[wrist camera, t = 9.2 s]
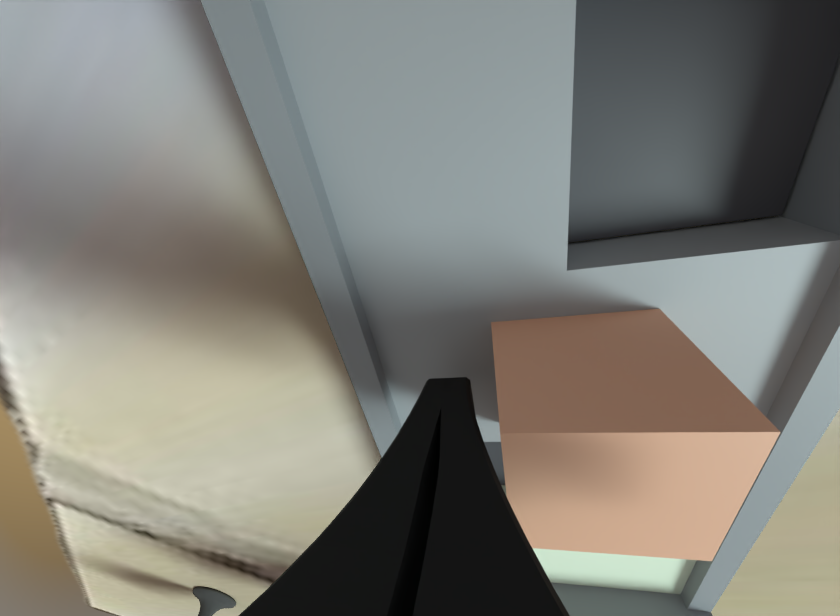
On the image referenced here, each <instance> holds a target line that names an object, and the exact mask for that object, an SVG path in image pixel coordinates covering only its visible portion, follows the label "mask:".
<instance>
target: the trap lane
mask: <svg viewBox="0 0 840 616" xmlns="http://www.w3.org/2000/svg"><path fill="white" fill-rule="evenodd" d="M201 3H202V5H203V8H204V10H205V13H206V16H207V18H208V21H209V23H210V26H211V28H212V31H213V33H214V36H215V38H216V41H217V43H218V46H219V48H220V51H221V53H222V56H223V58H224V61H225V64H226V66H227V69H228V71H229V74H230V76H231V79H232V81H233V84H234V86H235V89H236V91H237V94H238V96H239V99H240V101H241V104H242V106H243V109H244V111H245V114H246V117H247V119H248V122H249V124H250V127H251V129H252V132H253V134H254V137H255V139H256V142H257V144H258V147H259V149H260V152H261V154H262V157H263V159H264V162H265V164H266V167H267V170H268V172H269V175H270V177H271V180H272V182H273V185H274V187H275V190H276V192H277V195H278V197H279V200H280V202H281V205H282V207H283V210H284V212H285V215H286V217H287V220H288V223H289V225H290V228H291V230H292V233H293V235H294V238H295V240H296V243H297V245H298V248H299V250H300V253H301V255H302V258H303V260H304V263H305V265H306V268H307V271H308V273H309V276H310V278H311V281H312V283H313V286H314V288H315V291H316V293H317V296H318V298H319V301H320V303H321V306H322V308H323V311H324V313H325V316H326V318H327V321H328V324H329V326H330V329H331V331H332V334H333V336H334V339H335V341H336V344H337V346H338V349H339V351H340V354H341V356H342V359H343V361H344V364H345V366H346V369H347V371H348V374H349V377H350V379H351V382H352V384H353V387H354V389H355V392H356V394H357V397H358V399H359V402H360V404H361V407H362V409H363V412H364V414H365V417H366V419H367V422H368V425H369V427H370V430H371V432H372V435H373V437H374V440H375V442H376V445H377V447H378V450H379V452H380V455H381V457H383V455H384V454H385V452H386V451H387V449H388V448H389V446H390V445H391V443H392V442H393V440H394V439H395V437H396V436H397V434H398V432H399V431H400V429H401V427H402V426H403V424H404V422H405V421H406V419H407V417H408V416H409V414H410V412H411V410H412V408H413V407H414V405H415V403H416V401H417V399H418V397H419V395H420V393H421V391H422V389H423V387H424V385H425V383H426V381H427V380H428V379H432V378H455V377H467V378H468V379H470V382H471V389H472V395H473V402H474V408H475V415H476V419H477V423H478V426H479V429H480V432H481V435H482V438H483V441H484V444H485V446H486V449H487V452H488V454H489V457H490V459H491V462H492V464H493V467H494V469H495V472H496V474H497V476H498V479H499V481H500V483H501V486H502V488H503V490H504V492H505V494H506V485H505V476H504V466H503V456H502V447H501V437H500V426H499V414H498V402H497V390H496V378H495V366H494V353H493V341H492V329H491V322H499V321H512V320H524V319H537V318H549V317H561V316H574V315H586V314H598V313H611V312H623V311H635V310H648V309H660V310H661V311H662V312H663V313H664V314H665V315H666V316H667V317H668V318H669V319H670V320H671V321H672V322H673V323H674V324H675V325H676V326H677V327H678V328H679V329H680V330H681V331H682V332H683V333H684V334H685V335H686V336H687V337H688V338H689V339H690V340H691V341H692V342H693V343H694V344H695V345H696V346H697V347H698V348H699V349H700V350H701V351H702V352H703V353H704V354H705V355H706V356H707V357H708V358H709V359H710V360H711V362H712V363H713V364H714V365H715V366H716V367H717V368H718V369H719V370H720V371H721V372H722V373H723V374H724V375H725V376H726V377H727V378H728V379H729V380H730V381H731V382H732V383H733V384H734V385H735V386H736V387H737V388H738V389H739V390H740V391H741V392H742V393H743V394H744V395H745V396H746V397H747V398H748V399H749V400H750V401H751V402H752V403H753V404H754V405H755V406H756V407H757V408H758V409H759V410H760V411H761V412H762V413H763V414H764V415H765V416H766V418H767V419H768V420H769V421H770V422H771V423H772V424H773V425H774V426H775V427H776V428H777V429H778V430H779V431H780V434H779V436H778V438H777V440H776V442H775V444H774V446H773V447H772V449H771V451H770V453H769V455H768V457H767V459H766V461H765V463H764V464H763V466H762V468H761V470H760V472H759V474H758V476H757V478H756V479H755V481H754V483H753V485H752V487H751V489H750V491H749V493H748V494H747V496H746V498H745V500H744V502H743V504H742V506H741V508H740V510H739V511H738V513H737V515H736V517H735V519H734V521H733V523H732V525H731V526H730V528H729V530H728V532H727V534H726V536H725V538H724V540H723V541H722V543H721V545H720V547H719V549H718V551H717V553H716V555H715V557H714V558H713V560H712V561H702V560H688V559H674V558H661V557H647V556H633V555H620V554H606V553H592V552H579V551H565V550H551V549H538V548H532V549H533V550H534V552H535V554H536V556H537V558H538V560H539V561H540V563H541V565H542V567H543V569H544V571H545V573H546V574H547V576H548V578H549V580H550V582H551V584H552V586H553V587H554V589H555V591H556V593H557V594H558V596H559V598H560V600H561V601H562V603H563V605H564V606H565V608H566V610H567V612H568V613H569V615H570V616H712V614H711V611H712V609H713V608H714V606H715V605H716V603H717V601H718V600H719V598H720V597H721V595H722V594H723V592H724V590H725V589H726V587H727V586H728V584H729V582H730V581H731V579H732V578H733V576H734V575H735V573H736V571H737V570H738V568H739V567H740V565H741V563H742V562H743V560H744V559H745V557H746V556H747V554H748V552H749V551H750V549H751V548H752V546H753V544H754V543H755V541H756V540H757V538H758V537H759V535H760V533H761V532H762V530H763V529H764V527H765V526H766V524H767V522H768V521H769V519H770V518H771V516H772V514H773V513H774V511H775V510H776V508H777V507H778V505H779V503H780V502H781V500H782V499H783V497H784V495H785V494H786V492H787V491H788V489H789V488H790V486H791V484H792V483H793V481H794V480H795V478H796V477H797V475H798V473H799V472H800V470H801V469H802V467H803V465H804V464H805V462H806V461H807V459H808V458H809V456H810V454H811V453H812V451H813V450H814V448H815V446H816V445H817V443H818V442H819V440H820V439H821V437H822V435H823V434H824V432H825V431H826V429H827V427H828V426H829V424H830V423H831V421H832V420H833V418H834V416H835V415H836V413H837V412H838V410H839V409H840V0H201ZM777 215H779V216H777ZM769 216H775V217H769ZM762 217H768V218H762ZM754 218H760V219H754ZM746 219H752V220H746ZM738 220H745V221H738ZM731 221H737V222H731ZM723 222H729V223H723ZM715 223H721V224H715ZM708 224H714V225H708ZM700 225H706V226H700ZM692 226H698V227H692ZM684 227H690V228H684ZM677 228H683V229H677ZM669 229H675V230H669ZM661 230H667V231H661ZM654 231H659V232H654ZM646 232H652V233H646ZM638 233H644V234H638ZM630 234H636V235H630ZM623 235H628V236H623ZM615 236H621V237H615ZM607 237H613V238H607ZM600 238H605V239H600ZM592 239H597V240H592ZM584 240H590V241H584ZM576 241H582V242H576ZM569 242H574V243H569ZM506 497H507V495H506Z"/></svg>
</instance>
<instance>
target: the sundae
mask: <svg viewBox="0 0 840 616" xmlns="http://www.w3.org/2000/svg"><path fill="white" fill-rule="evenodd" d="M193 594H194V595H195V596H196V597H197V598H198V599H199V601H200V612H199V614H198V616H212V615H213V614H214V613H215V612H216V611H218V610H220V609H223V608H233V607H234V606H235V605H236V602H235V600H234V599H233V598H231V597H230V596H228V595H226V594H224V593H222V592H220V591H217V590H214V589H210V588H206V587H196V588H194V589H193Z"/></svg>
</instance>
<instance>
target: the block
mask: <svg viewBox="0 0 840 616" xmlns="http://www.w3.org/2000/svg"><path fill="white" fill-rule="evenodd" d="M491 329H492V341H493V353H494V366H495V378H496V390H497V402H498V414H499V426H500V437H501V447H502V456H503V466H504V476H505V485H506V495H507V499H508V501H509V503H510V505H511V507H512V509H513V511H514V513H515V515H516V517H517V519H518V521H519V523H520V526H521V528H522V530H523V532H524V534H525V535H526V537H527V539H528V541H529V543H530V545H531V547H532V548H538V549H551V550H565V551H579V552H592V553H606V554H620V555H633V556H647V557H661V558H674V559H688V560H702V561H712V560H713V558H714V557H715V555H716V553H717V551H718V549H719V547H720V545H721V543H722V541H723V540H724V538H725V536H726V534H727V532H728V530H729V528H730V526H731V525H732V523H733V521H734V519H735V517H736V515H737V513H738V511H739V510H740V508H741V506H742V504H743V502H744V500H745V498H746V496H747V494H748V493H749V491H750V489H751V487H752V485H753V483H754V481H755V479H756V478H757V476H758V474H759V472H760V470H761V468H762V466H763V464H764V463H765V461H766V459H767V457H768V455H769V453H770V451H771V449H772V447H773V446H774V444H775V442H776V440H777V438H778V436H779V434H780V431H779V430H778V429H777V428H776V427H775V426H774V425H773V424H772V423H771V422H770V421H769V420H768V419H767V418H766V416H765V415H764V414H763V413H762V412H761V411H760V410H759V409H758V408H757V407H756V406H755V405H754V404H753V403H752V402H751V401H750V400H749V399H748V398H747V397H746V396H745V395H744V394H743V393H742V392H741V391H740V390H739V389H738V388H737V387H736V386H735V385H734V384H733V383H732V382H731V381H730V380H729V379H728V378H727V377H726V376H725V375H724V374H723V373H722V372H721V371H720V370H719V369H718V368H717V367H716V366H715V365H714V364H713V363H712V362H711V360H710V359H709V358H708V357H707V356H706V355H705V354H704V353H703V352H702V351H701V350H700V349H699V348H698V347H697V346H696V345H695V344H694V343H693V342H692V341H691V340H690V339H689V338H688V337H687V336H686V335H685V334H684V333H683V332H682V331H681V330H680V329H679V328H678V327H677V326H676V325H675V324H674V323H673V322H672V321H671V320H670V319H669V318H668V317H667V316H666V315H665V314H664V313H663V312H662V311H661V310H660V309H648V310H635V311H623V312H611V313H598V314H586V315H574V316H561V317H549V318H537V319H524V320H512V321H499V322H491Z"/></svg>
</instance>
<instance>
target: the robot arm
mask: <svg viewBox="0 0 840 616" xmlns="http://www.w3.org/2000/svg"><path fill="white" fill-rule="evenodd" d="M239 616H570V615H569V613H568V612H567V610H566V608H565V606H564V605H563V603H562V601H561V600H560V598H559V596H558V594H557V593H556V591H555V589H554V587H553V586H552V584H551V582H550V580H549V578H548V576H547V574H546V573H545V571H544V569H543V567H542V565H541V563H540V561H539V560H538V558H537V556H536V554H535V552H534V550H533V549H532V547H531V545H530V543H529V541H528V539H527V537H526V535H525V534H524V532H523V530H522V528H521V526H520V523H519V521H518V519H517V517H516V515H515V513H514V511H513V509H512V507H511V505H510V503H509V501H508V499H507V497H506V494H505V492H504V490H503V488H502V486H501V483H500V481H499V479H498V476H497V474H496V472H495V469H494V467H493V464H492V462H491V459H490V457H489V454H488V452H487V449H486V446H485V444H484V441H483V438H482V435H481V432H480V429H479V426H478V423H477V419H476V415H475V408H474V402H473V395H472V389H471V382H470V379H468V378H467V377H455V378H432V379H428V380H427V381H426V383H425V385H424V387H423V389H422V391H421V393H420V395H419V397H418V399H417V401H416V403H415V405H414V407H413V408H412V410H411V412H410V414H409V416H408V417H407V419H406V421H405V422H404V424H403V426H402V427H401V429H400V431H399V432H398V434H397V436H396V437H395V439H394V440H393V442H392V443H391V445H390V446H389V448H388V449H387V451H386V452H385V454H384V455H383V457H382V458H381V460H380V461H379V463H378V464H377V466H376V467H375V468H374V470H373V471H372V473H371V474H370V475H369V477H368V478H367V479H366V481H365V482H364V483H363V485H362V486H361V487H360V488H359V490H358V491H357V492H356V494H355V495H354V496H353V497H352V499H351V500H350V501H349V502H348V503H347V505H346V506H345V507H344V508H343V509H342V510H341V512H340V513H339V514H338V515H337V516H336V518H335V519H334V520H333V521H332V522H331V523H330V525H329V526H328V527H327V528H326V529H325V530H324V531H323V532H322V534H321V535H320V536H319V537H318V538H317V539H316V540H315V541H314V542H313V543H312V544H311V545H310V546H309V547H308V548H307V549H306V550H305V551H304V553H303V554H302V555H301V556H300V557H299V558H298V559H297V560H296V561H295V562H294V563H293V564H292V565H291V566H290V567H289V568H288V569H287V570H286V571H285V572H284V573H283V574H282V575H281V576H280V577H279V578H278V579H277V580H276V581H275V582H274V583H273V584H272V585H271V586H270V587H269V588H268V589H267V590H266V591H265V592H264V593H263V594H262V595H260V596H259V597H258V598H257V599H256V600H255V601H254V602H253V603H252V604H251V605H250V606H249V607H247V608H246V609H245V610H244V611H243V612H242V613H241V614H240V615H239Z"/></svg>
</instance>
